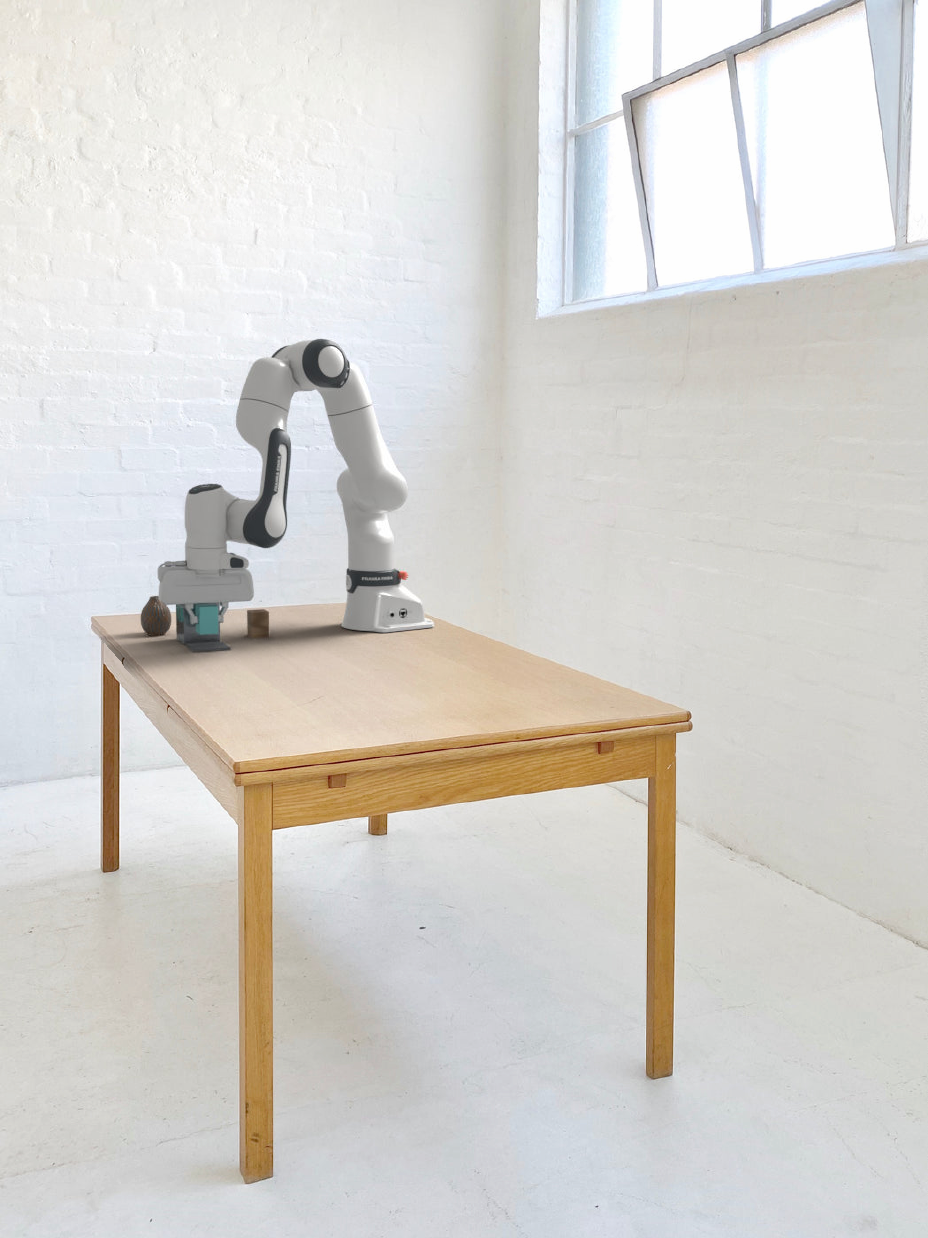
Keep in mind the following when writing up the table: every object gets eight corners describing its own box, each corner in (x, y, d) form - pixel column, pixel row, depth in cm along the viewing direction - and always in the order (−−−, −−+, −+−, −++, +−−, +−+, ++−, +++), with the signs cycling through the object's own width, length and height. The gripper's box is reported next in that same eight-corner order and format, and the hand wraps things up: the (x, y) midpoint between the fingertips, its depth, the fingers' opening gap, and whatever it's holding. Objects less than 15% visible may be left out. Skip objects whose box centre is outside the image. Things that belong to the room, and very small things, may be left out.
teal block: (213, 630, 263) (213, 603, 262) (218, 633, 259) (218, 606, 258) (195, 631, 261) (195, 604, 260) (200, 634, 258) (199, 607, 257)
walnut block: (264, 634, 278) (263, 609, 277) (269, 637, 275) (268, 611, 274) (247, 635, 277) (247, 610, 276) (252, 638, 273) (251, 612, 272)
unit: (212, 636, 275) (211, 593, 273) (221, 642, 267) (220, 598, 266) (175, 638, 271) (174, 595, 269) (183, 645, 264) (182, 600, 262)
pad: (222, 644, 266) (222, 641, 266) (230, 649, 259) (230, 647, 259) (186, 646, 262) (186, 643, 262) (193, 652, 256) (193, 649, 256)
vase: (167, 637, 273) (166, 599, 272) (137, 636, 273) (136, 598, 272) (175, 631, 280) (174, 594, 278) (145, 631, 280) (144, 594, 278)
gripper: (160, 563, 250) (161, 628, 253) (255, 560, 259) (256, 623, 261) (154, 559, 256) (155, 623, 258) (247, 557, 265) (248, 618, 267)
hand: (207, 623), depth 260 cm, fingers closed on teal block, 4 cm apart
